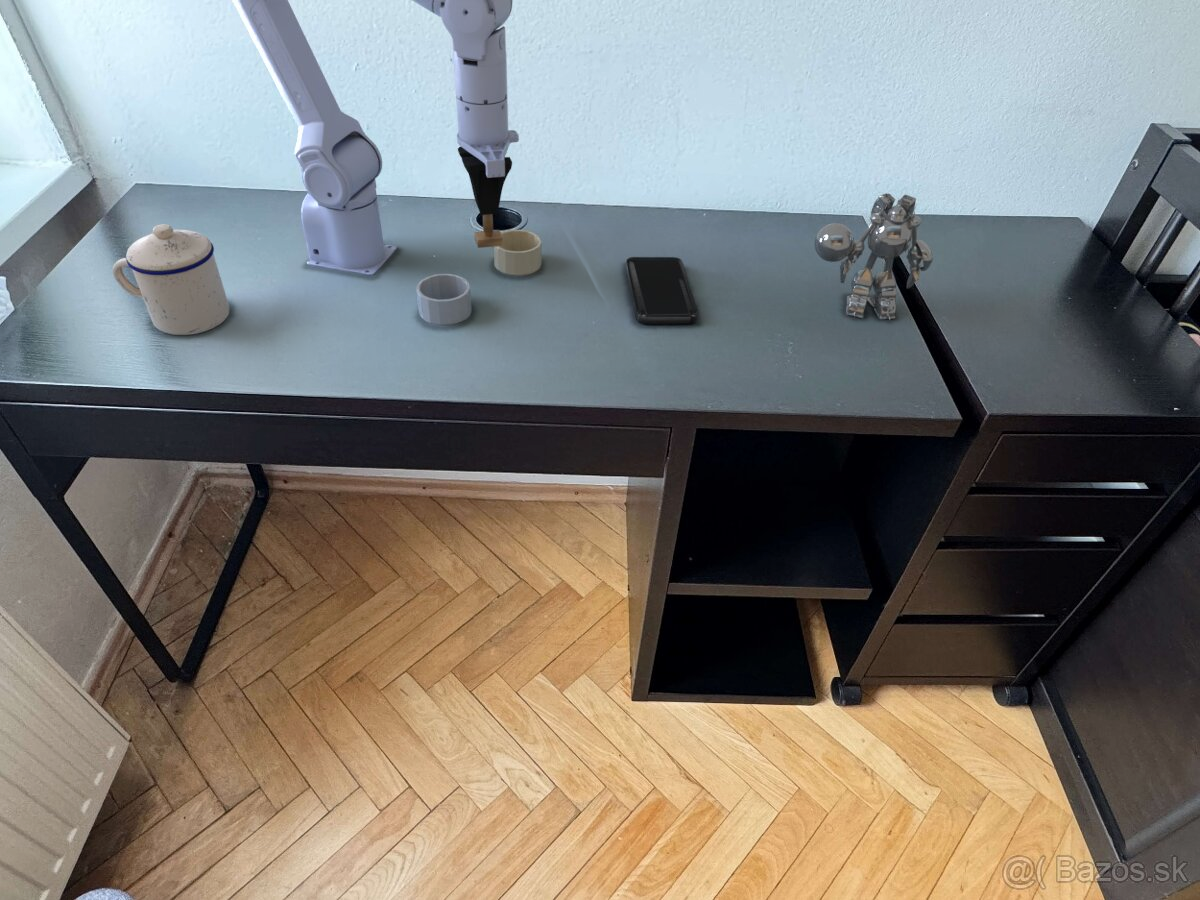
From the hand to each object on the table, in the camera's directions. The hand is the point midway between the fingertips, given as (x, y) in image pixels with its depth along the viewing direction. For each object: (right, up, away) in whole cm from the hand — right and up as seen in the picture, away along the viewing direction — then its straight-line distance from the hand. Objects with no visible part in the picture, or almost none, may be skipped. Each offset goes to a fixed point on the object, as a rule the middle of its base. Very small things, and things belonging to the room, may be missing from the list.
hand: (487, 210), depth 99 cm
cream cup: (+3, -4, +11) cm, 12 cm away
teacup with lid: (-37, -14, -2) cm, 39 cm away
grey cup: (-5, -13, +1) cm, 14 cm away
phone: (+22, -9, +7) cm, 25 cm away
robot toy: (+48, -11, +8) cm, 50 cm away
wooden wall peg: (0, -3, +3) cm, 4 cm away
